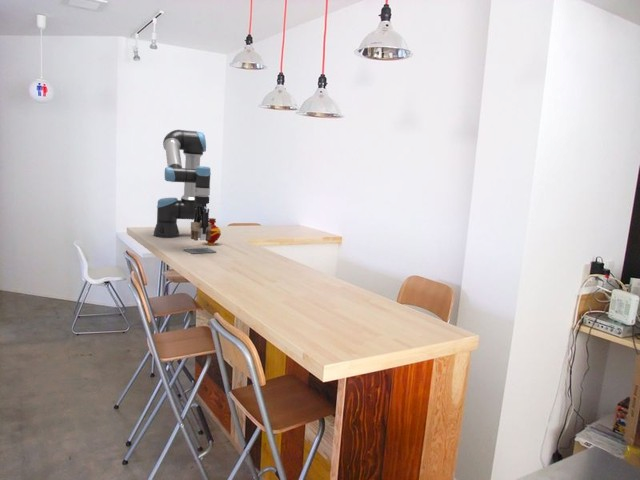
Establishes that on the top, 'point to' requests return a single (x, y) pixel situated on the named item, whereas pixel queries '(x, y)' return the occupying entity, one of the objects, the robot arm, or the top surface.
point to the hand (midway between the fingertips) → (200, 238)
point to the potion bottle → (213, 232)
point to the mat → (199, 250)
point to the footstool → (197, 227)
